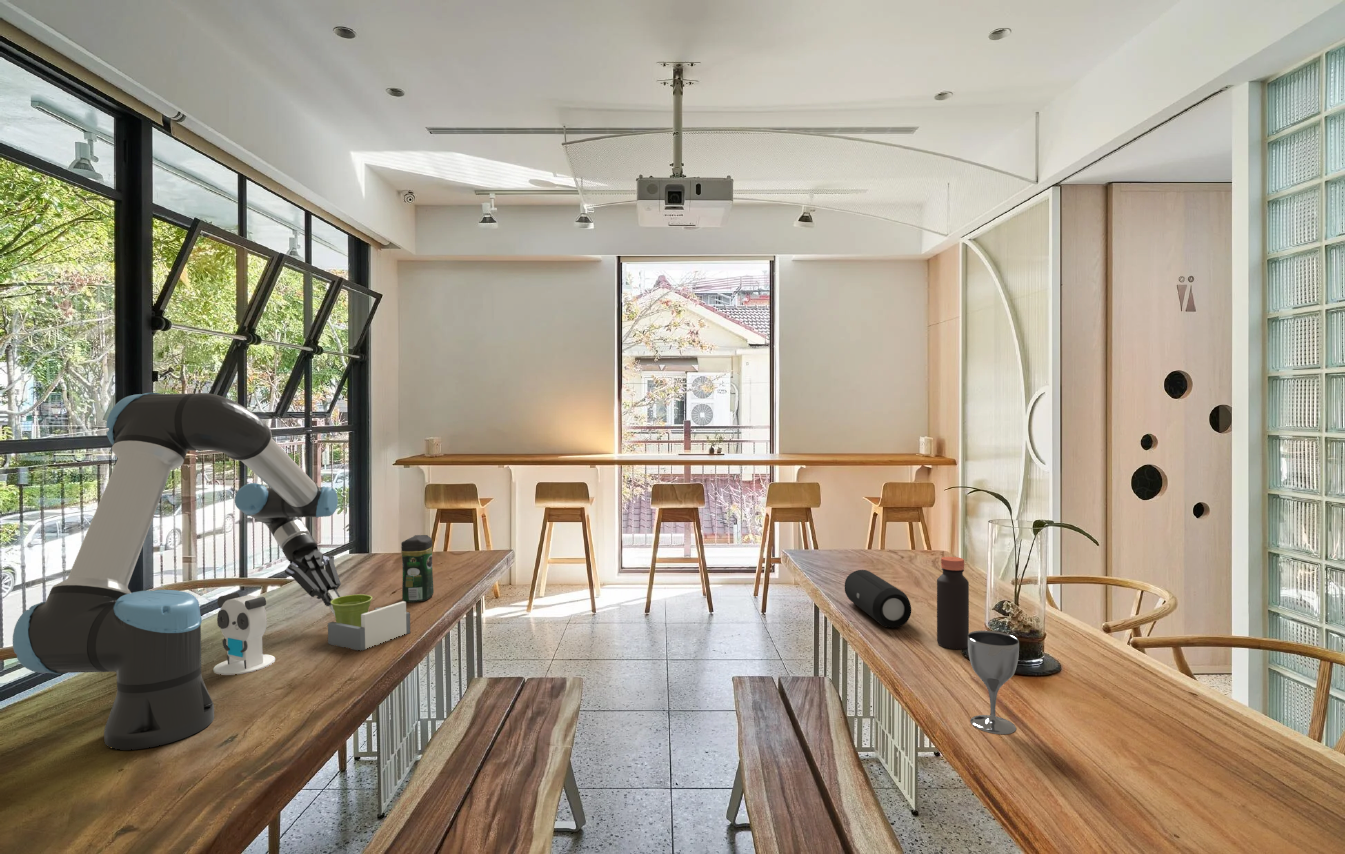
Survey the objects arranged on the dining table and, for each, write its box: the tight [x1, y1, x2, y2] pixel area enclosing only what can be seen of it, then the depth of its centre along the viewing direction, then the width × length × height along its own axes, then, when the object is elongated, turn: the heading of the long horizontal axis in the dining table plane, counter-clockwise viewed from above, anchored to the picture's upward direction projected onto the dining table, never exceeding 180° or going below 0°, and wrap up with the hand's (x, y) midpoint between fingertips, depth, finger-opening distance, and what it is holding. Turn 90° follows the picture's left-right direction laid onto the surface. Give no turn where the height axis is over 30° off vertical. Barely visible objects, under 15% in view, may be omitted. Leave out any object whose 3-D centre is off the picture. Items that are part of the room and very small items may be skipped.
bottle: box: [936, 556, 970, 650], centre depth 155 cm, size 7×7×20 cm
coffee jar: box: [400, 534, 434, 603], centre depth 199 cm, size 10×8×19 cm
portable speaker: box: [844, 569, 912, 628], centre depth 179 cm, size 26×10×10 cm, turn 5°
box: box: [327, 600, 411, 652], centre depth 164 cm, size 14×11×8 cm
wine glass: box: [967, 630, 1020, 735], centre depth 116 cm, size 8×8×15 cm
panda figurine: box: [213, 592, 276, 676], centre depth 147 cm, size 12×11×15 cm
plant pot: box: [331, 593, 373, 627], centre depth 167 cm, size 9×9×9 cm
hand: (340, 613), depth 169 cm, fingers closed
